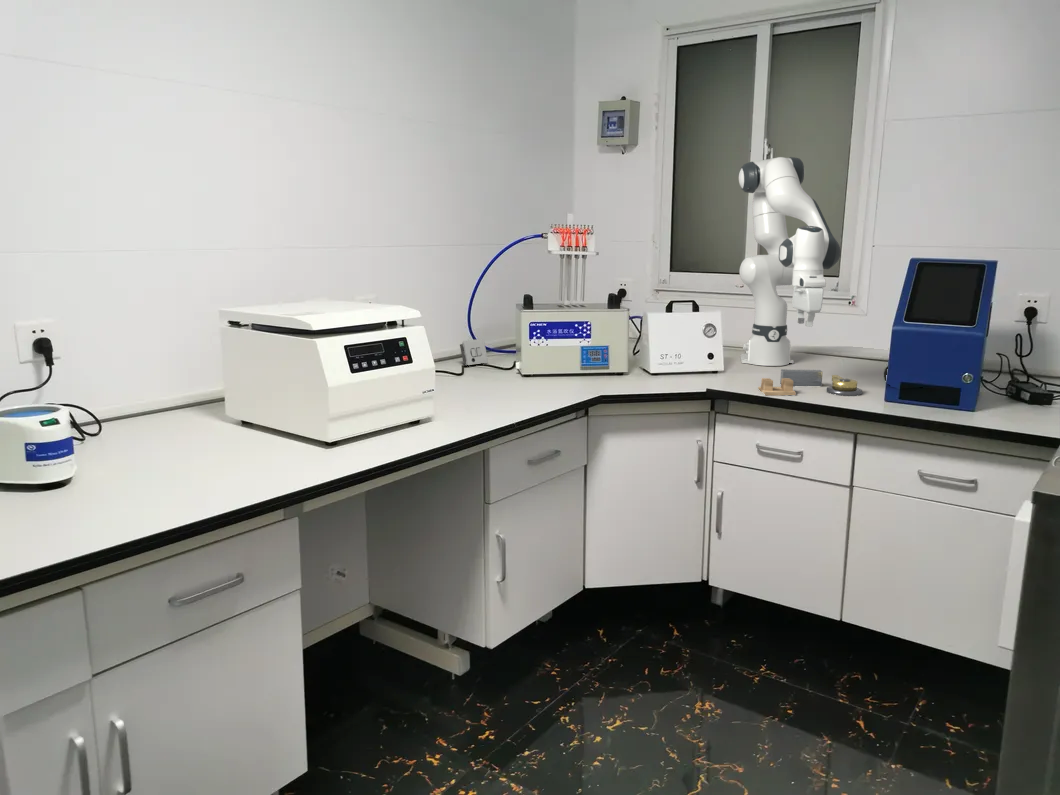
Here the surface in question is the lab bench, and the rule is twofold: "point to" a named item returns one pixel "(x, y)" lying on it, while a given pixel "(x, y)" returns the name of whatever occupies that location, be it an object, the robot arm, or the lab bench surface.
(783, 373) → the bar
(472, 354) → the electrical switch
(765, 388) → the rack
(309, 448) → the lab bench surface
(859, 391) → the nut base
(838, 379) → the gold curved piece
